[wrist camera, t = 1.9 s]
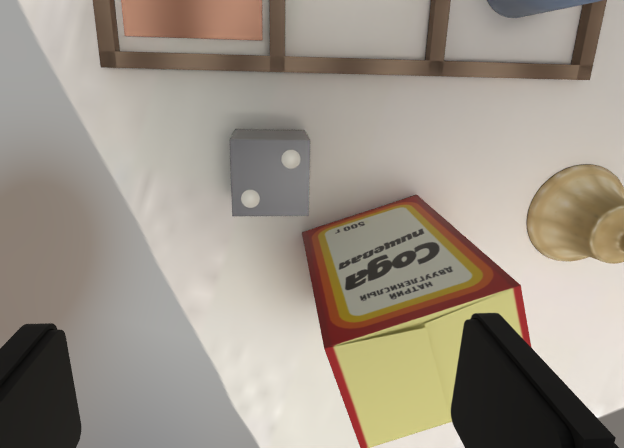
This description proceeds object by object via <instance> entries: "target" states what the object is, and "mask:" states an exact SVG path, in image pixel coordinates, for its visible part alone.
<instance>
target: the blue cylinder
mask: <svg viewBox="0 0 624 448" xmlns="http://www.w3.org/2000/svg"><path fill="white" fill-rule="evenodd" d="M487 1H488V3H489V5H490V6H491V7H492V8H493V9H494V10H495V11H496V12H497V13H499V14H500V15H502V16H505V17H509V18H518V17H523V16H528V15H533V14H538V13H543V12H548V11H553V10H558V9H563V8H568V7H573V6H578V5H583V4H588V3H593V2H598V1H602V0H487Z"/></svg>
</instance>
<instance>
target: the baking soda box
mask: <svg viewBox="0 0 624 448" xmlns="http://www.w3.org/2000/svg"><path fill="white" fill-rule="evenodd" d="M302 235H303V241H304V246H305V251H306V256H307V261H308V266H309V272H310V277H311V282H312V287H313V292H314V297H315V303H316V308H317V313H318V318H319V323H320V329H321V334H322V339H323V344H324V349H325V352H326V354H327V357H328V360H329V363H330V365H331V368H332V371H333V374H334V376H335V379H336V382H337V385H338V387H339V390H340V393H341V396H342V398H343V401H344V404H345V407H346V409H347V412H348V415H349V418H350V420H351V423H352V426H353V429H354V431H355V434H356V437H357V440H358V442H359V445H360V448H370V447H373V446H377V445H380V444H383V443H386V442H389V441H392V440H395V439H399V438H402V437H405V436H408V435H411V434H414V433H417V432H421V431H424V430H427V429H430V428H433V427H436V426H440V425H443V424H446V423H449V422H452V419H451V403H452V397H453V390H454V384H455V377H456V371H457V365H458V358H459V352H460V345H461V339H462V332H463V326H464V322H465V320H467V319H471V316H472V315H473V314H474V313H499V314H500V315H501V316H502V317H503V318H504V319H505V320H506V321H507V322H508V323H509V324H510V326H511V327H512V328H513V329H514V330H515V331H516V332H517V333H518V334H519V335H520V336H521V337H522V338H523V339H524V341H525V342H526V343H527V344H528V345H529V346H530V347H531V343H530V337H529V331H528V326H527V320H526V314H525V308H524V302H523V296H522V290H521V285H520V284H519V283H517V282H516V281H515V280H514V279H513V278H512V277H511V276H509V275H508V274H507V273H506V272H505V271H504V270H503V269H501V268H500V267H499V266H498V265H497V264H496V263H495V262H493V261H492V260H491V259H490V258H489V257H488V256H486V255H485V254H484V253H483V252H482V251H481V250H480V249H478V248H477V247H476V246H475V245H474V244H473V243H472V242H470V241H469V240H468V239H467V238H466V237H465V236H463V235H462V234H461V233H460V232H459V231H458V230H457V229H455V228H454V227H453V226H452V225H451V224H450V223H449V222H447V221H446V220H445V219H444V218H443V217H442V216H441V215H439V214H438V213H437V212H436V211H435V210H434V209H432V208H431V207H430V206H429V205H428V204H427V203H426V202H424V201H423V200H422V199H421V198H420V197H419V196H418V195H414V196H411V197H408V198H405V199H402V200H399V201H396V202H393V203H390V204H387V205H384V206H381V207H378V208H375V209H371V210H368V211H365V212H362V213H359V214H356V215H353V216H350V217H347V218H344V219H341V220H338V221H335V222H332V223H329V224H326V225H323V226H320V227H317V228H314V229H311V230H307V231H304V232H302Z"/></svg>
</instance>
